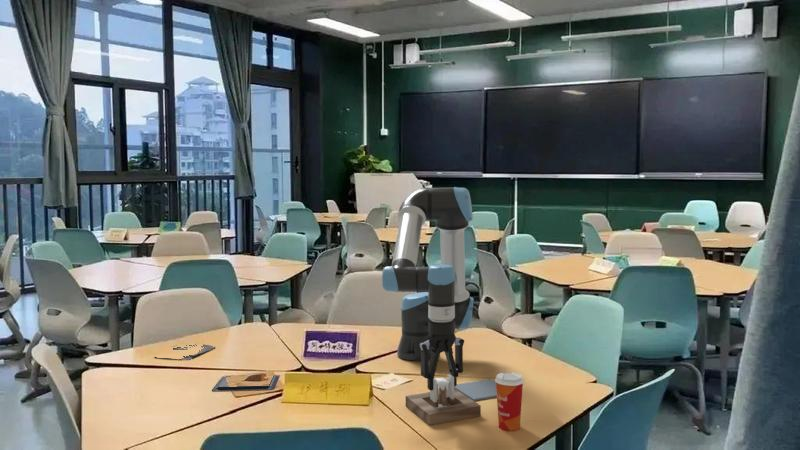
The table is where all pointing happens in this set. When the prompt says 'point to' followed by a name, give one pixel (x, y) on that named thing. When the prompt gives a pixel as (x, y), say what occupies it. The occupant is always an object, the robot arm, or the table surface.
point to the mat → (478, 389)
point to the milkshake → (442, 392)
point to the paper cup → (509, 400)
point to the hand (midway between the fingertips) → (442, 398)
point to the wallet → (223, 386)
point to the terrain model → (203, 351)
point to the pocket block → (443, 408)
